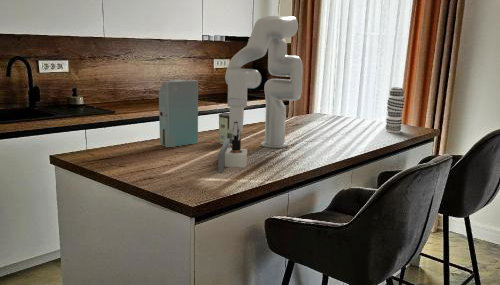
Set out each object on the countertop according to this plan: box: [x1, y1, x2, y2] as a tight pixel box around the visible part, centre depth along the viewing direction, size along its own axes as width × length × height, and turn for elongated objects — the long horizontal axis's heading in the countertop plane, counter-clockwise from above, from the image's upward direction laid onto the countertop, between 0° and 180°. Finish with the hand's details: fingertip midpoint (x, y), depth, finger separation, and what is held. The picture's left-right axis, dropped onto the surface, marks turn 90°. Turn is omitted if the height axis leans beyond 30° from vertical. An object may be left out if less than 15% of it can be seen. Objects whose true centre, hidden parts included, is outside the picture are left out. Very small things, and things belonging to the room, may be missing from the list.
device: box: [158, 79, 199, 148], centre depth 214 cm, size 16×8×30 cm, turn 132°
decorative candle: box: [385, 86, 405, 134], centre depth 261 cm, size 9×9×25 cm
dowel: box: [232, 132, 242, 153], centre depth 181 cm, size 3×3×10 cm
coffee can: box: [218, 112, 233, 146], centre depth 221 cm, size 10×10×14 cm
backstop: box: [217, 138, 231, 174], centre depth 181 cm, size 28×18×8 cm, turn 177°
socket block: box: [224, 147, 248, 168], centre depth 182 cm, size 10×8×5 cm
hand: (236, 148), depth 181 cm, fingers closed on dowel, 3 cm apart
